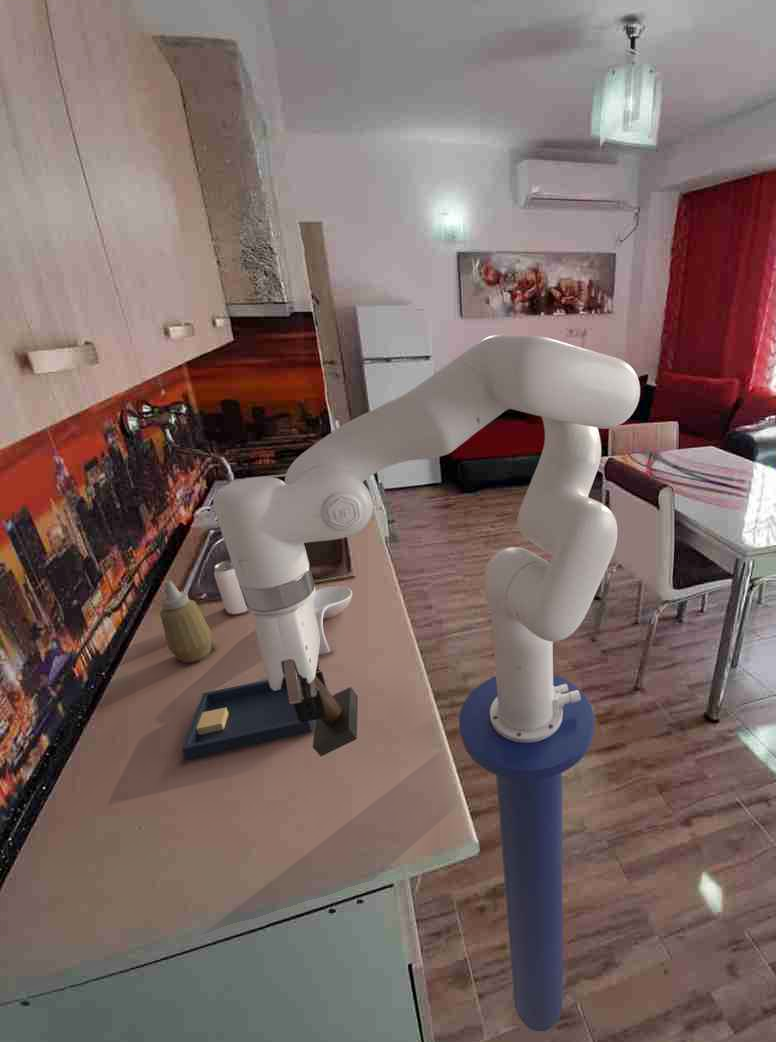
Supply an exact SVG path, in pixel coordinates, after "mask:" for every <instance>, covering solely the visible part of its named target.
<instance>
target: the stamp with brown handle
mask: <svg viewBox="0 0 776 1042" xmlns="http://www.w3.org/2000/svg"><path fill="white" fill-rule="evenodd" d="M314 682H315V686H316V690H317V691H319V690H320V694H321V697H322V701H323V704H324V708H325V711H326V715H325V717H324V718H321V719H316V720H315V724H314V731H313V732H314V733H313V741H312V748H313V750H315V752H316V753H317V754H318V756H319V757H323V756H325V755H327V754H329V753H332V752H333V751H335V750H337V749H340V748H342V747H344V746H345V745H348V744H349V743H352V742H354V741H355V740H356V741H357V740H358V711H359V710H358V708H359V707H358V705H359V704H358V703H359V696H358V694H357V693H356V691H355V690H354V688H352V687H351V686H350V687H348V688H345V689H343V690H341V691H339V692H337V693H334V694H333V695H332V694H331V693H330V691H329V690H328V689H326V688H327V686H326V687H325V686H324V685H323V684H322V682H321V681H320V680H319V679H318V677H317V676H316V675H315V678H314ZM302 687H308V683H306V682H303V683H301V688H302Z"/></svg>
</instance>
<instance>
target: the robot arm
mask: <svg viewBox="0 0 776 1042" xmlns="http://www.w3.org/2000/svg"><path fill="white" fill-rule="evenodd" d="M640 397H641V384H640V380H639V377H638V375H637V373H636V371H635V369H634V368H633V367H632V366H631V365H630V364H629V363H627V362H626V361H624V360H623V359H620V358H618V357H616V356H611V355H608V354H605V353H600V352H598V351H593V350H590V349H586V348H583V347H579V346H576V345H573V344H570V343H566V342H563V341H560V340H557V339H554V338H550V337H547V336H542V335H536V334H535V335H534V334H517V333H516V334H514V333H513V334H512V333H498V334H494V335H490V336H488V337H487V336H486V338H483V339H481V340H480V341H478V342H477V343H475V344H473V346H471V347H470V348H468V349H467V350H465V351H464V352H463V353H461V354H460V355H459V356H457V357H456V358H454V359H453V360H452V361H450V362H449V363H448V364H446V365H445V366H443V367H442V368H440V369H439V370H438V371H437V372H435V373H433V374H432V375H431V376H429V377H428V378H426V379H425V380H424V381H422V382H421V383H420V384H418V385H417V386H415V387H414V388H412V389H411V390H409V391H408V392H406V393H405V394H403V395H402V396H401V395H400V396H399V397H397V398H394V399H392V400H389V401H388V402H386V403H384V404H381V405H380V406H378V407H376V408H374V409H372V410H370V411H368V412H366V413H364V414H361V415H359V416H357V417H355V418H353V419H351V420H349V421H348V422H346V423H344V424H343V425H341V426H339V427H337V428H336V429H334V430H333V431H332V432H330V433H328V434H327V435H325V437H323V438H322V439H320V440H319V441H317V442H316V443H314V444H313V445H312V446H310V447H309V448H308V449H306V450H305V451H304V452H302V453H301V454H299V456H298V457H296V458H295V459H294V461H293V462H292V463H291V464H290V466H289V467H288V469H287V471H286V473H285V476H284V480H282V479H279V478H278V477H273V476H254V477H247V478H243V479H239V480H235V481H233V482H230V483H228V484H225V485H224V486H222V487H220V488H219V489H218V490H217V491H216V493H214V496H213V498H212V499H213V500H212V505H213V506H212V507H213V510H214V513H215V517H216V521H217V523H218V526H219V530H220V532H221V535H222V538H223V541H224V544H225V546H226V550H227V553H228V555H229V560H231V562H232V565H233V568H234V571H235V574H236V577H237V580H238V583H239V586H240V589H241V592H242V595H243V598H244V601H245V604H246V607H247V610H248V611H247V612H249V613H251V614H253V618H254V627H255V633H256V639H257V643H258V646H259V647H258V648H259V651H260V655H261V659H262V662H263V663H262V664H263V665H264V670H265V674H266V677H267V680H268V681H269V685H270V687H271V689H272V690H274V691H277V690H280V689H281V686H282V681H283V677H286V683H287V690H288V696H289V702H290V704H294V707H295V710H296V713H297V716H298V719H299V721H300V722H307V721H311V720H313V721H316V719H321V718H324V717H325V715H326V711H325V708H324V704H323V701H322V697H321V694H320V690H319V691H317V690H316V686H315V682H314V678H315V675H316V676H317V677H318V679H319V680H320V681H321V682H322V684H323V685H324V686H325V687H326V689H327V685H326V682H325V678H324V674H323V671H321V664H320V660H319V647H320V633H319V628H318V623H317V619H316V616H315V612H314V609H313V605H312V602H311V598H312V597H313V596H314V594H315V591H316V590H317V589H316V585H315V581H314V576H313V573H312V568H311V565H310V562H309V557H308V554H307V550H306V547H305V544H306V543H316V542H325V541H334V540H335V541H336V540H341V539H346V538H348V537H352V536H353V535H355V534H357V533H359V532H360V531H362V530H363V529H364V528H365V527H366V526H367V525H368V524H369V521H370V520H371V518H372V515H373V511H374V501H373V497H372V495H371V492H370V491H369V489H368V487H367V486H366V485H365V483H364V481H366V480H368V479H369V478H370V477H372V476H373V475H375V474H377V473H379V472H380V471H382V470H385V469H386V468H389V467H391V466H393V465H397V464H399V463H404V462H410V461H421V460H429V459H435V458H439V457H443V456H447V455H449V454H451V453H453V451H455V450H457V448H459V447H460V446H461V445H463V444H464V443H465V442H467V441H468V440H470V438H472V437H473V436H474V435H476V434H477V433H478V432H479V431H481V430H482V429H484V427H486V426H487V425H489V424H491V423H492V422H493V421H494V420H495V419H497V418H498V417H499V416H501V415H502V414H503V413H504V412H506V411H508V410H515V411H518V412H521V413H525V414H529V415H533V416H538V417H541V419H542V423H543V428H544V429H543V430H544V442H543V448H542V451H541V454H540V457H539V461H538V463H537V464H536V465H537V466H536V468H535V471H534V474H533V475H532V477H531V481H530V483H529V486H528V487H527V490H526V493H525V495H524V498H523V500H522V503H521V505H520V508H519V511H518V514H517V519H516V521H517V522H516V523H517V528H518V530H519V533H520V534H521V535H522V536H523V537H524V538H525V539H526V540H527V541H529V542H530V543H531V544H533V545H535V546H536V547H538V548H539V549H541V550H543V551H544V552H546V553H548V554H549V555H551V558H550V560H549V561H548V560H546V559H544V558H543V557H541V556H540V555H538V554H537V553H535V552H533V551H531V550H529V549H526V548H523V547H517V546H511V547H506V548H504V549H503V548H502V549H501V550H499V551H497V552H496V553H495V554H493V556H491V558H490V559H489V561H487V565H486V567H485V569H484V574H483V590H484V594H485V595H484V596H485V600H486V603H487V607H488V610H489V616H490V620H491V628H492V637H493V638H492V639H493V651H494V652H493V653H494V654H493V655H494V669H495V676H496V682H497V697H496V698H495V700H494V701H493V703H492V705H491V707H490V720H491V723H492V725H493V727H494V729H495V730H496V731H497V732H498V733H499V734H500V735H501V736H503V737H505V738H507V739H509V740H512V741H515V742H521V743H531V742H537V741H540V740H543V739H546V738H547V737H549V736H551V735H552V734H553V733H555V732H556V731H557V729H558V728H559V727H560V724H561V722H562V718H563V710H562V707H564V704H568V703H575V702H579V701H581V697H580V693H579V691H578V690H575V691H571V692H568V686H567V684H563V685H559V686H556V687H554V686H553V674H554V650H553V649H554V643H555V642H561V641H563V640H565V639H567V638H569V637H570V636H572V635H573V634H574V633H575V632H576V631H577V629H578V628H579V627H580V626H581V624H582V623H583V621H584V619H585V617H586V616H587V614H588V611H589V609H590V608H591V605H592V603H593V601H594V599H595V596H596V594H597V591H598V590H599V587H600V585H601V582H602V581H603V578H604V576H605V574H606V572H607V569H608V567H609V564H610V562H611V561H612V558H613V555H614V552H615V549H616V546H617V541H618V524H617V520H616V517H615V515H614V513H613V512H612V511H611V509H609V507H608V506H606V505H604V503H602V502H600V501H598V500H595V498H594V499H593V498H591V497H589V495H590V492H591V489H592V486H593V483H594V481H595V478H596V476H597V473H598V470H599V467H600V464H601V457H602V442H601V441H602V440H601V435H600V432H599V429H602V430H603V429H604V430H607V429H614V428H615V427H618V426H620V425H622V424H624V423H625V422H626V421H628V420H629V419H630V418H631V416H632V415H633V414H634V412H635V411H636V409H637V407H638V405H639V402H640ZM303 682H306V683H308V687H302V688H301V683H303ZM327 690H328V689H327ZM564 692H568V693H566V694H561V693H564Z"/></svg>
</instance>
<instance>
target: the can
mask: <svg viewBox="0 0 776 1042" xmlns="http://www.w3.org/2000/svg"><path fill="white" fill-rule="evenodd" d="M213 570H214V573H213V576H214V579H215V582H216V586H217V588H218V591H219V593H220V597H221V601H222V602H223V606H224V608H225V611H226V613H228V614H230V615H235V616H236V615H241V614H245V613H247V612H249V611H248V610H247V607H246V604H245V601H244V598H243V595H242V592H241V589H240V586H239V583H238V580H237V577H236V574H235V571H234V568H233V565H232V562H231V559H227V560H224V561H221V562H218V563H217V564H216V565H215V566H214V567H213Z"/></svg>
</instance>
